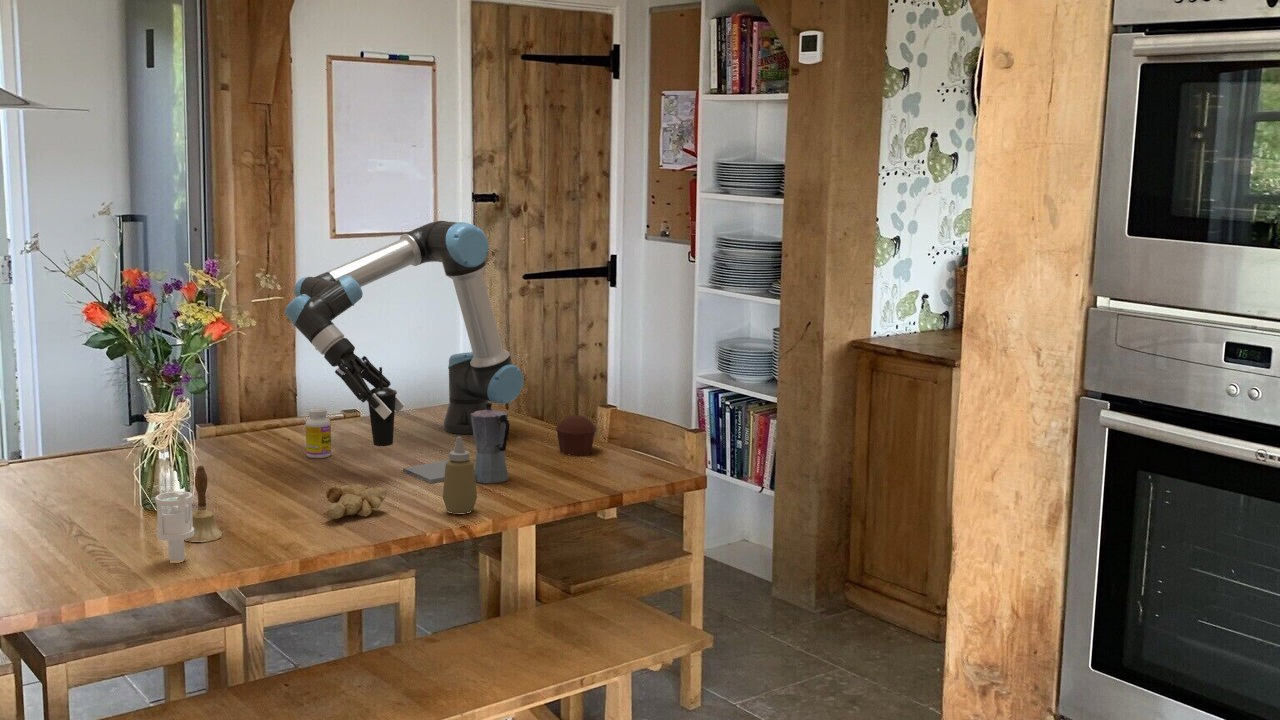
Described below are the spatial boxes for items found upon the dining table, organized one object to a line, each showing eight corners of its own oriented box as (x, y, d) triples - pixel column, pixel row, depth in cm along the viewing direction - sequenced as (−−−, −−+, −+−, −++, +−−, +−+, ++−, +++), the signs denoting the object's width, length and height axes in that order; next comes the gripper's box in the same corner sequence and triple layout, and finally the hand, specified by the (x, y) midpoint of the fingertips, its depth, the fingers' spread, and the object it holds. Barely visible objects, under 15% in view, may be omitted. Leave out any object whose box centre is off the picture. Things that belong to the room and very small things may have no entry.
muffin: (599, 455, 346) (600, 420, 344) (560, 457, 344) (560, 422, 342) (590, 445, 358) (591, 411, 356) (552, 447, 355) (552, 412, 353)
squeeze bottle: (446, 506, 297) (445, 432, 294) (479, 507, 297) (479, 433, 294) (439, 516, 289) (438, 440, 286) (474, 517, 289) (473, 441, 286)
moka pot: (489, 471, 329) (488, 396, 325) (526, 483, 318) (526, 406, 314) (459, 477, 322) (458, 401, 319) (496, 490, 311) (496, 411, 308)
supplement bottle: (322, 460, 337) (321, 413, 335) (301, 457, 339) (300, 411, 337) (336, 454, 344) (335, 408, 341) (315, 452, 346) (314, 406, 343)
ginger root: (375, 493, 302) (375, 464, 299) (394, 526, 290) (394, 496, 286) (310, 503, 296) (309, 473, 292) (326, 537, 283) (326, 507, 280)
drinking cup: (402, 440, 324) (399, 364, 320) (393, 448, 317) (390, 370, 313) (373, 439, 325) (370, 364, 321) (364, 447, 317) (361, 369, 314)
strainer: (169, 569, 252) (165, 497, 249) (152, 561, 257) (148, 490, 254) (202, 561, 257) (198, 490, 255) (184, 553, 262) (181, 483, 259)
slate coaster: (449, 463, 336) (449, 459, 336) (477, 474, 325) (477, 470, 325) (403, 471, 327) (402, 468, 327) (430, 483, 316) (430, 479, 316)
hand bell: (230, 532, 276) (226, 462, 273) (211, 544, 268) (207, 472, 265) (195, 530, 277) (191, 460, 274) (175, 542, 269) (171, 470, 266)
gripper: (344, 349, 330) (402, 413, 329) (305, 363, 311) (367, 431, 310) (361, 330, 328) (420, 394, 327) (323, 343, 309) (386, 411, 308)
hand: (394, 412), depth 318 cm, fingers closed on drinking cup, 7 cm apart
